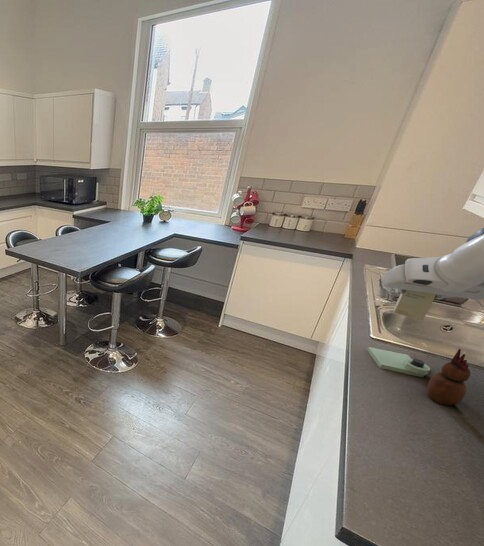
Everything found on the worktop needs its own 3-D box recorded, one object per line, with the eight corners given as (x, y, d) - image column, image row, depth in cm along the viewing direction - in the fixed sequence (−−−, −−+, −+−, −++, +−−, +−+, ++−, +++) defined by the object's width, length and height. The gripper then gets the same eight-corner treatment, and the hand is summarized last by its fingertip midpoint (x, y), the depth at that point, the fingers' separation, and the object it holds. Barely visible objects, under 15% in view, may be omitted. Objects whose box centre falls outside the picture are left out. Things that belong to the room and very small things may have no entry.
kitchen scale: (410, 359, 99) (414, 351, 98) (429, 380, 90) (434, 372, 89) (367, 350, 103) (370, 342, 102) (381, 370, 94) (385, 361, 93)
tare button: (419, 364, 93) (422, 360, 92) (424, 369, 91) (426, 364, 90) (409, 362, 93) (411, 357, 93) (413, 366, 91) (415, 362, 91)
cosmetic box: (393, 313, 93) (411, 276, 88) (393, 308, 96) (409, 272, 91) (423, 321, 89) (443, 282, 84) (422, 315, 92) (441, 277, 87)
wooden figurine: (420, 387, 87) (445, 343, 81) (450, 397, 84) (478, 351, 78) (427, 402, 82) (454, 355, 76) (459, 412, 79) (490, 365, 73)
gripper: (510, 269, 75) (464, 290, 87) (400, 257, 83) (372, 278, 95) (515, 293, 73) (467, 311, 85) (402, 278, 81) (372, 297, 93)
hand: (416, 293), depth 90 cm, fingers closed on cosmetic box, 7 cm apart
